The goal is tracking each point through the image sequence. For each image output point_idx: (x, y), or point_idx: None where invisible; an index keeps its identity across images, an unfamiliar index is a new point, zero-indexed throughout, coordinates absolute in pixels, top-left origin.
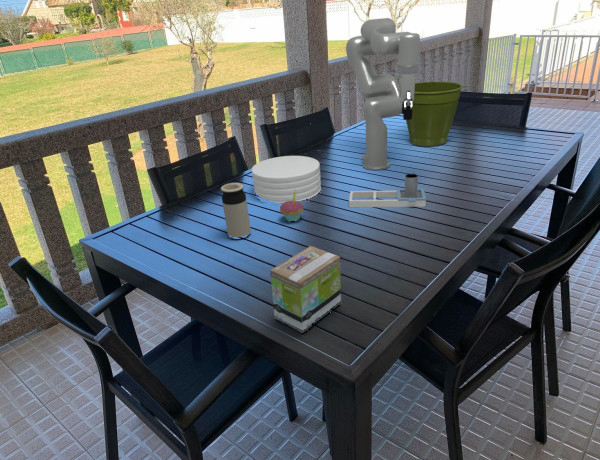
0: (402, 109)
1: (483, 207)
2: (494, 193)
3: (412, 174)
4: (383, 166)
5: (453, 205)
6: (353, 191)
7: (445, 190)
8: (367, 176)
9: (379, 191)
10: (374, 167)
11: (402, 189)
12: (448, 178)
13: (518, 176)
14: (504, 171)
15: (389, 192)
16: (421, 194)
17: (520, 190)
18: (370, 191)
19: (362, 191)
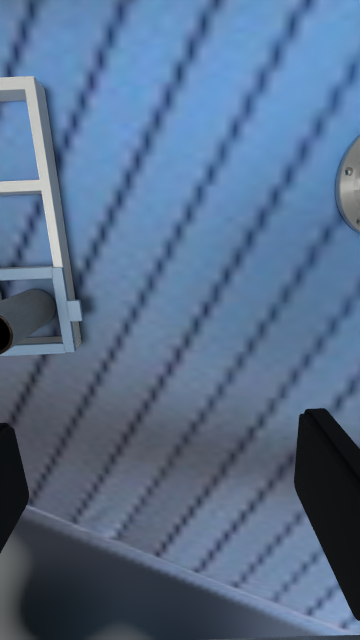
0: (325, 450)
1: (25, 471)
2: (117, 503)
3: (9, 336)
4: (354, 211)
5: (25, 412)
6: (32, 91)
7: (131, 402)
8: (269, 146)
9: (46, 203)
10: (351, 172)
11: (59, 286)
12: (228, 417)
13: (232, 560)
14: (271, 541)
15: (50, 241)
16: (34, 343)
17: (139, 550)
18: (42, 167)
19: (37, 133)
